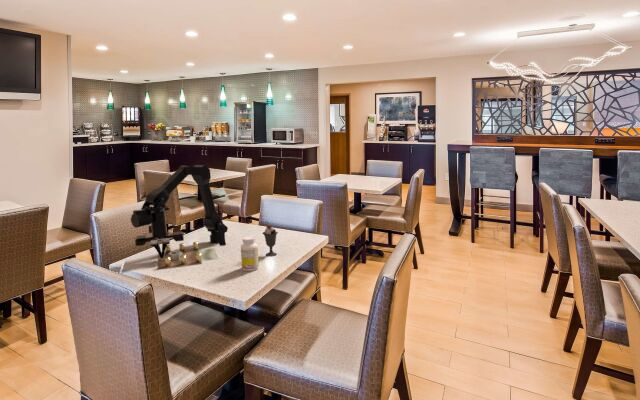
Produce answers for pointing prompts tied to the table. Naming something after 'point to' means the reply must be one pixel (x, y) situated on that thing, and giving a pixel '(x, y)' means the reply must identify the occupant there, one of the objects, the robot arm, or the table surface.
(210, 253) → the board
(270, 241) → the sundae
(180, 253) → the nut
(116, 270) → the table surface
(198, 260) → the spacers
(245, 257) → the supplement bottle
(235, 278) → the table surface
